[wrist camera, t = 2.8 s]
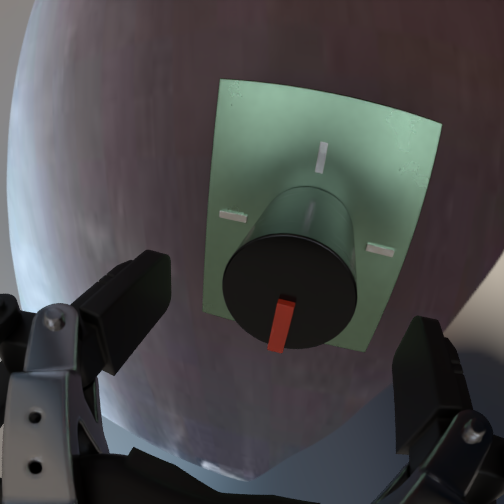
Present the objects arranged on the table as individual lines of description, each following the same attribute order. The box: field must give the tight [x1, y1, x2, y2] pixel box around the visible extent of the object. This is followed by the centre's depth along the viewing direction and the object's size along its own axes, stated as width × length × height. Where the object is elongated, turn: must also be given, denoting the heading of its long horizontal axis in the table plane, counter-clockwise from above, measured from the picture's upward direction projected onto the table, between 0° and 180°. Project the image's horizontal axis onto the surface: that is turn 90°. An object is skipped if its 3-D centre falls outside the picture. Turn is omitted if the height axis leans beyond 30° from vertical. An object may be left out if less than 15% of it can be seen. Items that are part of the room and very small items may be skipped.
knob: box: [222, 187, 358, 353], centre depth 12 cm, size 4×4×6 cm
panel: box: [202, 78, 442, 352], centre depth 16 cm, size 13×10×3 cm
